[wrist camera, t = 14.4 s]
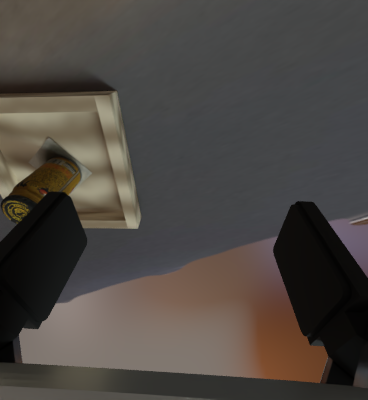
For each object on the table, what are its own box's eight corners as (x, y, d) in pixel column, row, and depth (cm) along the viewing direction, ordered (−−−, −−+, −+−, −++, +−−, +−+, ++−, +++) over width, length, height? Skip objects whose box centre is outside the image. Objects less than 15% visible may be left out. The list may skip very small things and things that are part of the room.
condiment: (70, 193, 41) (31, 238, 31) (29, 162, 37) (-30, 202, 28) (92, 172, 38) (57, 215, 28) (49, 136, 34) (-8, 171, 25)
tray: (-39, 94, 32) (-62, 99, 29) (116, 90, 31) (108, 95, 28) (32, 216, 46) (21, 227, 43) (141, 217, 45) (137, 228, 42)
